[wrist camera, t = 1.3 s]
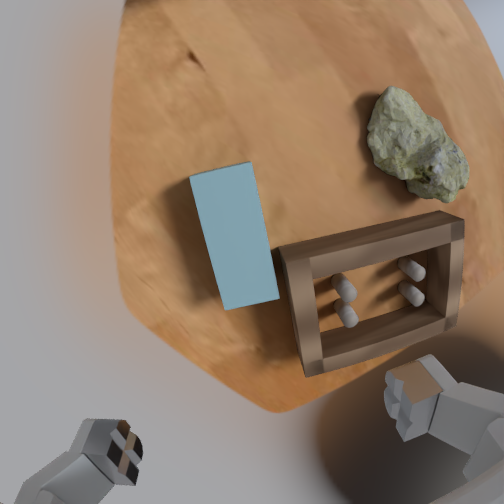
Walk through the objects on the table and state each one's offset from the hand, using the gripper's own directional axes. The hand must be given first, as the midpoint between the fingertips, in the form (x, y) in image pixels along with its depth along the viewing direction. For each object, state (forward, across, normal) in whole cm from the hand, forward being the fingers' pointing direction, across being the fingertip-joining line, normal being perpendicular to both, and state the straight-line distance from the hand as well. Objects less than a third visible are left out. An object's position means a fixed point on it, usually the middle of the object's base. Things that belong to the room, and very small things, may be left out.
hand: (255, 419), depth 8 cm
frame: (+22, -13, +8) cm, 27 cm away
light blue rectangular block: (+22, 0, -1) cm, 22 cm away
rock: (+22, -19, -6) cm, 29 cm away
